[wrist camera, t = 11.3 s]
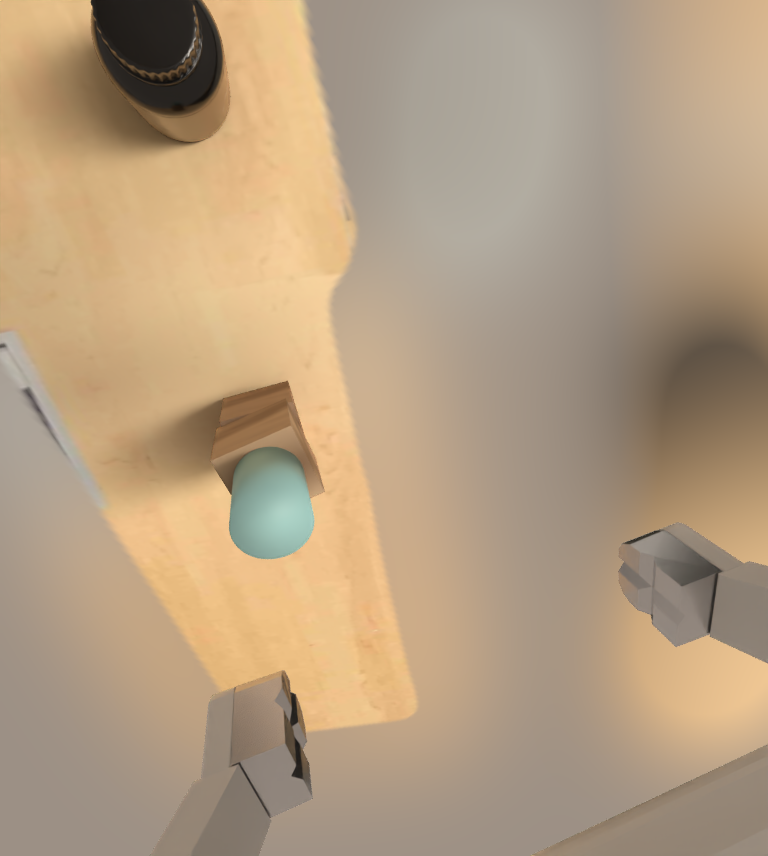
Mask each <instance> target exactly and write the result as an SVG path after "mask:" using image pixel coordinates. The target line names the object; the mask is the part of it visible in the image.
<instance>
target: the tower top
mask: <svg viewBox="0 0 768 856" xmlns="http://www.w3.org/2000/svg"><path fill="white" fill-rule="evenodd" d="M262 447H279V448H283V449H285V450H288V451H289V452H291V453H293V454H294V455H295V456H296V457H297V458H298V459H299V460H300V462H301V464H302V466H303V468H304V473H305V477H306V482H307V487H308V491H309V496H310V498H312V497H314V496H317V495H319V494H321V493H323V492H325V491H324V487H323V484H322V480H321V476H320V473H319V469H318V465H317V462H316V458H315V456H314V454H313V452H312V450H311V448H310V446H309V444H308V442H307V440H306V438H305V436H304V434H303V432H302V430H301V428H300V426H299V424H298V422H297V420H296V418H295V416H294V414H293V412H292V410H291V408H290V406H289V404H288V402H287V400H286V398H285V399H283V400H281V401H278V402H276V403H274V404H271V405H269V406H267V407H264V408H262V409H260V410H258V411H255V412H253V413H251V414H248V415H246V416H244V417H242V418H239V419H237V420H235V421H232V422H230V423H228V424H226V425H223V426H221V427H219V428H217V429H216V434H215V439H214V444H213V449H212V454H211V459H210V462H211V463H212V465H213V467H214V468H215V470H216V471H217V473H218V475H219V476H220V478H221V479H222V481H223V483H224V484H225V486H226V487H227V489H228V491H229V492H230V494H231V495H232V485H233V475H234V471H235V468H236V466H237V464H238V463H239V461H240V460H241V459H242V458H243V457H244V456H245V455H246V454H248V453H249V452H251V451H253V450H255V449H258V448H262Z"/></svg>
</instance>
